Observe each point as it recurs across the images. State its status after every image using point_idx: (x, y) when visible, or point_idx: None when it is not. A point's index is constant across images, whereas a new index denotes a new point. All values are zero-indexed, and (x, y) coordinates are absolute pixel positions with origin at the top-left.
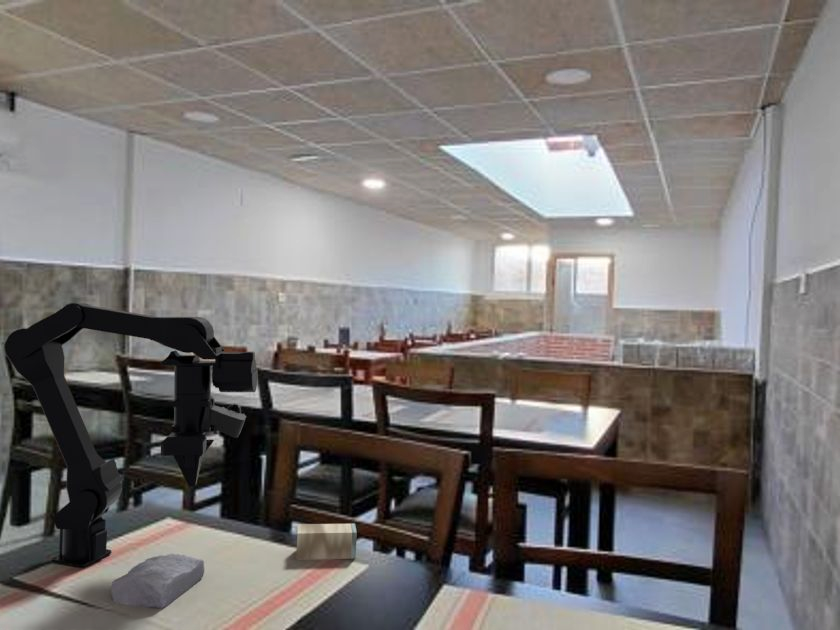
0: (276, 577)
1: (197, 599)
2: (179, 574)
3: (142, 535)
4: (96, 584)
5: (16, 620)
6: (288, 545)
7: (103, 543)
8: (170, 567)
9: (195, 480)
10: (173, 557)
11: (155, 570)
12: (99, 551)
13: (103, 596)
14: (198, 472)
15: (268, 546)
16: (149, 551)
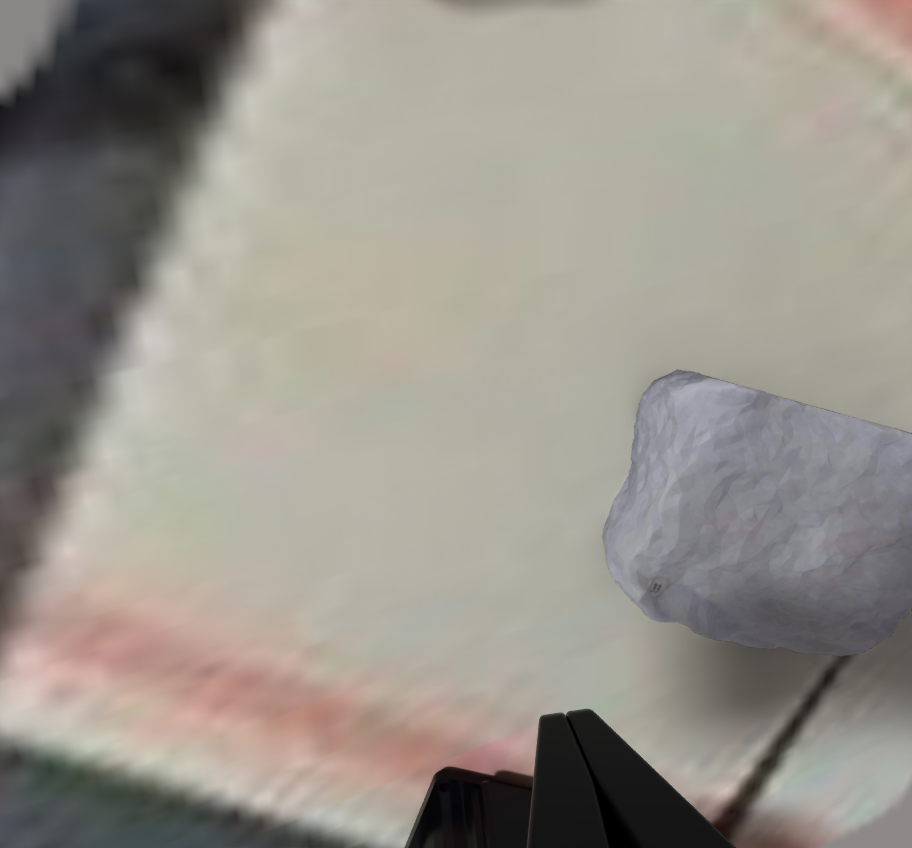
0: (682, 27)
1: (854, 338)
2: (905, 433)
3: (226, 741)
4: (696, 703)
5: (903, 787)
6: (259, 7)
7: (510, 828)
8: (818, 493)
9: (635, 754)
10: (706, 517)
11: (873, 538)
12: (524, 808)
13: None
14: (590, 825)
15: (288, 131)
16: (402, 654)
